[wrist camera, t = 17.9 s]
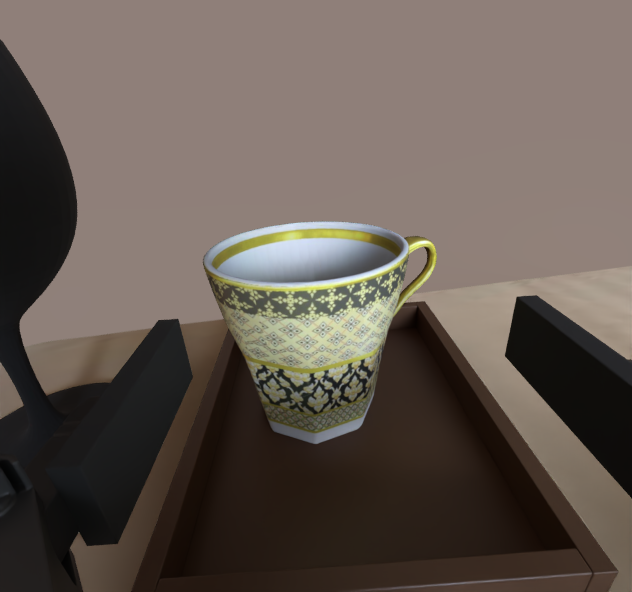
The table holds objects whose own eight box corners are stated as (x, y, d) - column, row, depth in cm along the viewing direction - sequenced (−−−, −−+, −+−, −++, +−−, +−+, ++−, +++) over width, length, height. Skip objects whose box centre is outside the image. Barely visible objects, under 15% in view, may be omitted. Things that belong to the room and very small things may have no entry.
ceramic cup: (256, 503, 16) (217, 306, 12) (223, 377, 25) (194, 236, 20) (480, 414, 20) (511, 244, 16) (385, 333, 29) (389, 207, 24)
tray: (422, 330, 30) (424, 301, 29) (595, 618, 12) (619, 572, 11) (238, 343, 30) (233, 314, 29) (147, 651, 12) (123, 608, 11)
